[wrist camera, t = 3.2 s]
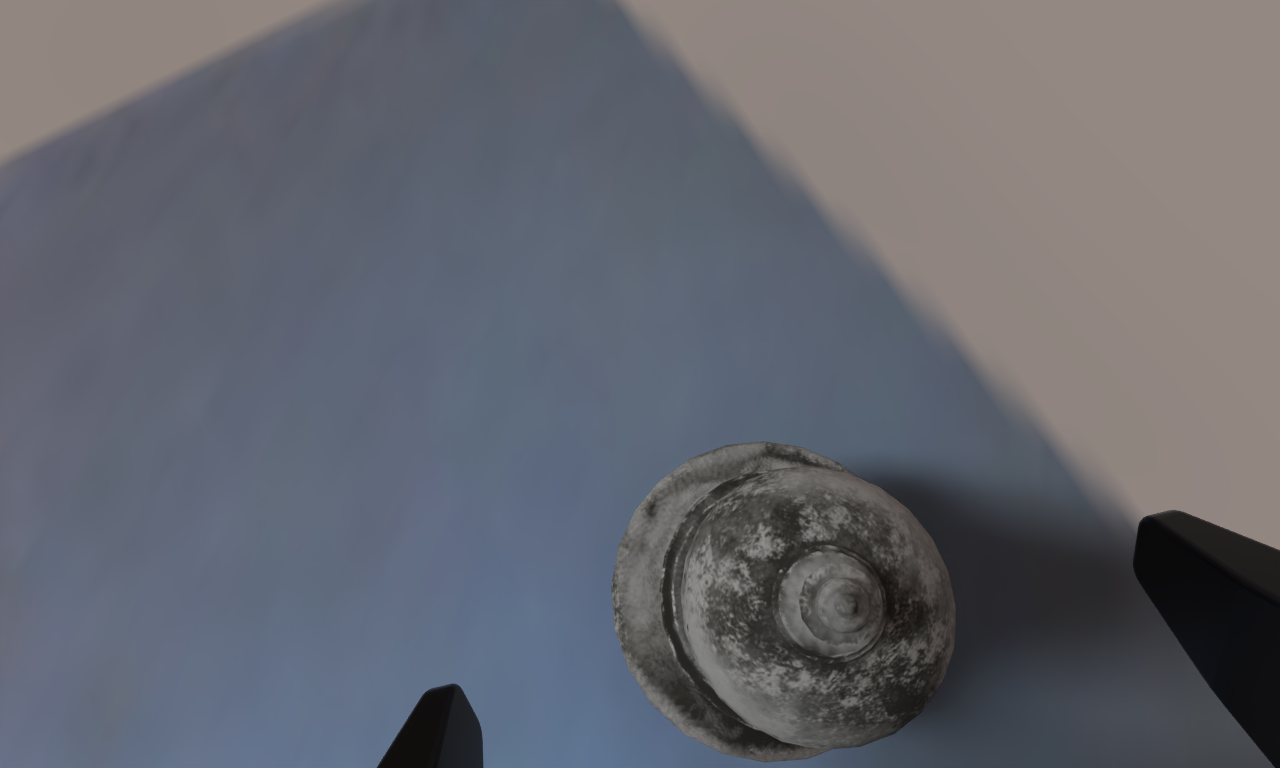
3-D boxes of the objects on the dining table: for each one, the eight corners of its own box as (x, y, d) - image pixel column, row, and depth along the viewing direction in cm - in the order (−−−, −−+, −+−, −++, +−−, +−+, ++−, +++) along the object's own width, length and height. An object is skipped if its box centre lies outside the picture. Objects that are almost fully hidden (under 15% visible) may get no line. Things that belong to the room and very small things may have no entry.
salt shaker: (796, 426, 18) (953, 161, 7) (929, 647, 17) (1426, 787, 5) (587, 539, 18) (383, 459, 7) (703, 775, 16) (705, 1221, 5)
